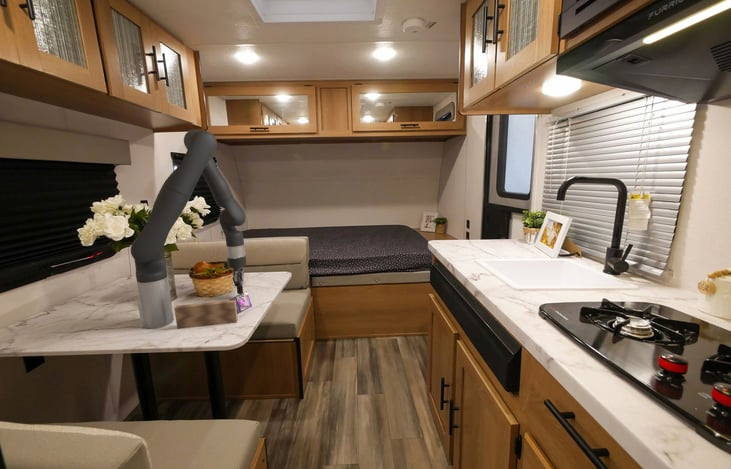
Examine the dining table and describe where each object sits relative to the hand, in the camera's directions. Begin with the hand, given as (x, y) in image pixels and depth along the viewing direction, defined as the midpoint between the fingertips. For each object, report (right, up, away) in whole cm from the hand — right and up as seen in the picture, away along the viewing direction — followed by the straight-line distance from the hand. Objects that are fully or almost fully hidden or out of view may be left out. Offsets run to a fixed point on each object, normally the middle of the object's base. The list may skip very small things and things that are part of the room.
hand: (240, 293), depth 137 cm
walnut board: (-2, -7, -23) cm, 24 cm away
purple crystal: (+4, -5, -11) cm, 13 cm away
